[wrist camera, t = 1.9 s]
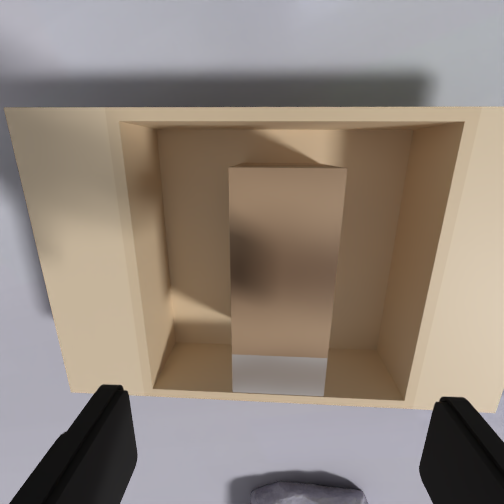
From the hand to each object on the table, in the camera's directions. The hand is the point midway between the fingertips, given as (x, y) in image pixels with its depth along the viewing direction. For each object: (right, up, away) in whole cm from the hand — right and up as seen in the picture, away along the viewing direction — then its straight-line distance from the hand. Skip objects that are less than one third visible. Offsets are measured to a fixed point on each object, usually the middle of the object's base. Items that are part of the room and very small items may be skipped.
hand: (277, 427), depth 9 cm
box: (+1, +5, +12) cm, 13 cm away
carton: (+1, +6, +12) cm, 14 cm away
